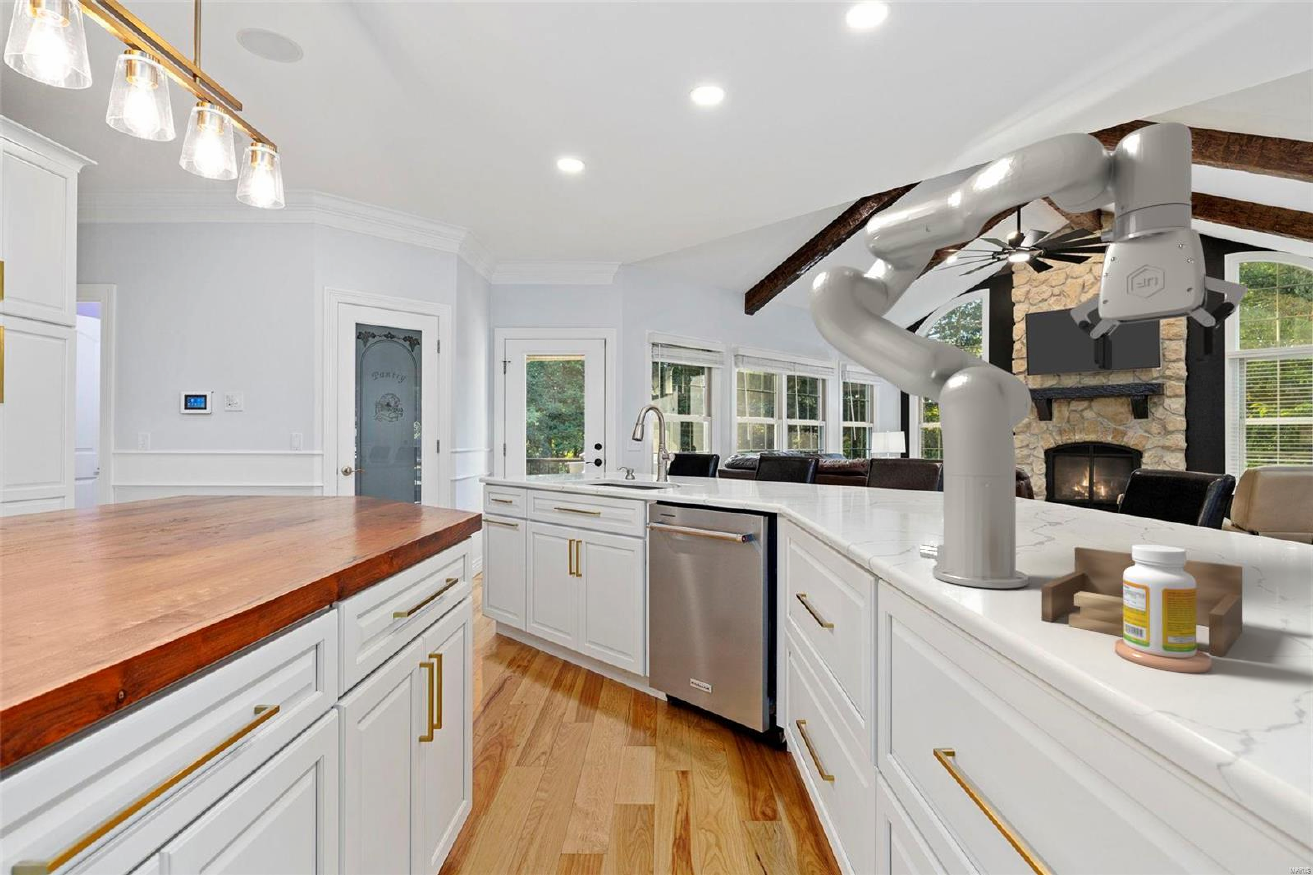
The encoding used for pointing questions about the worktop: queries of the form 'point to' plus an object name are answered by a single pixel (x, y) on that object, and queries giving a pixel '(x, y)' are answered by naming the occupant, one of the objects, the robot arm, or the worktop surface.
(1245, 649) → the worktop surface
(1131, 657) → the terracotta coaster
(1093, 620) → the frame
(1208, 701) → the worktop surface
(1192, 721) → the worktop surface
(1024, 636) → the worktop surface
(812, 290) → the robot arm
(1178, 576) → the supplement bottle
